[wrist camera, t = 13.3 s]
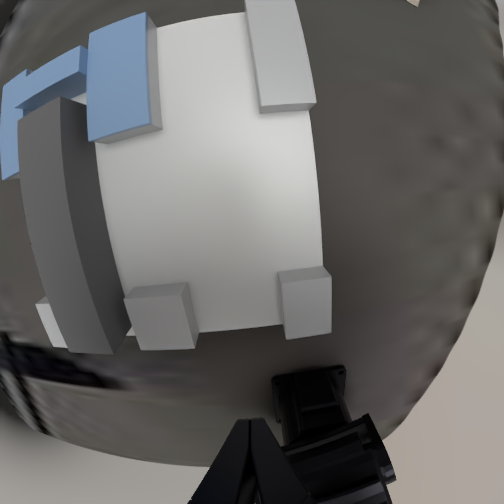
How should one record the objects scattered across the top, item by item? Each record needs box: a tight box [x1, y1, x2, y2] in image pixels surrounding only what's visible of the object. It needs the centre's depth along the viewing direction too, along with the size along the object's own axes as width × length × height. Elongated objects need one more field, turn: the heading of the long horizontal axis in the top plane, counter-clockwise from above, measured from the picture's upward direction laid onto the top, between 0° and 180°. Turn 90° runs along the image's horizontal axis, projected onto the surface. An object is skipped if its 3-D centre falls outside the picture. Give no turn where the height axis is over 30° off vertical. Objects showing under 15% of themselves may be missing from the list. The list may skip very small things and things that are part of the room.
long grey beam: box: [17, 96, 132, 354], centre depth 15 cm, size 16×4×4 cm, turn 7°
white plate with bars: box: [0, 0, 332, 350], centre depth 15 cm, size 22×22×4 cm
